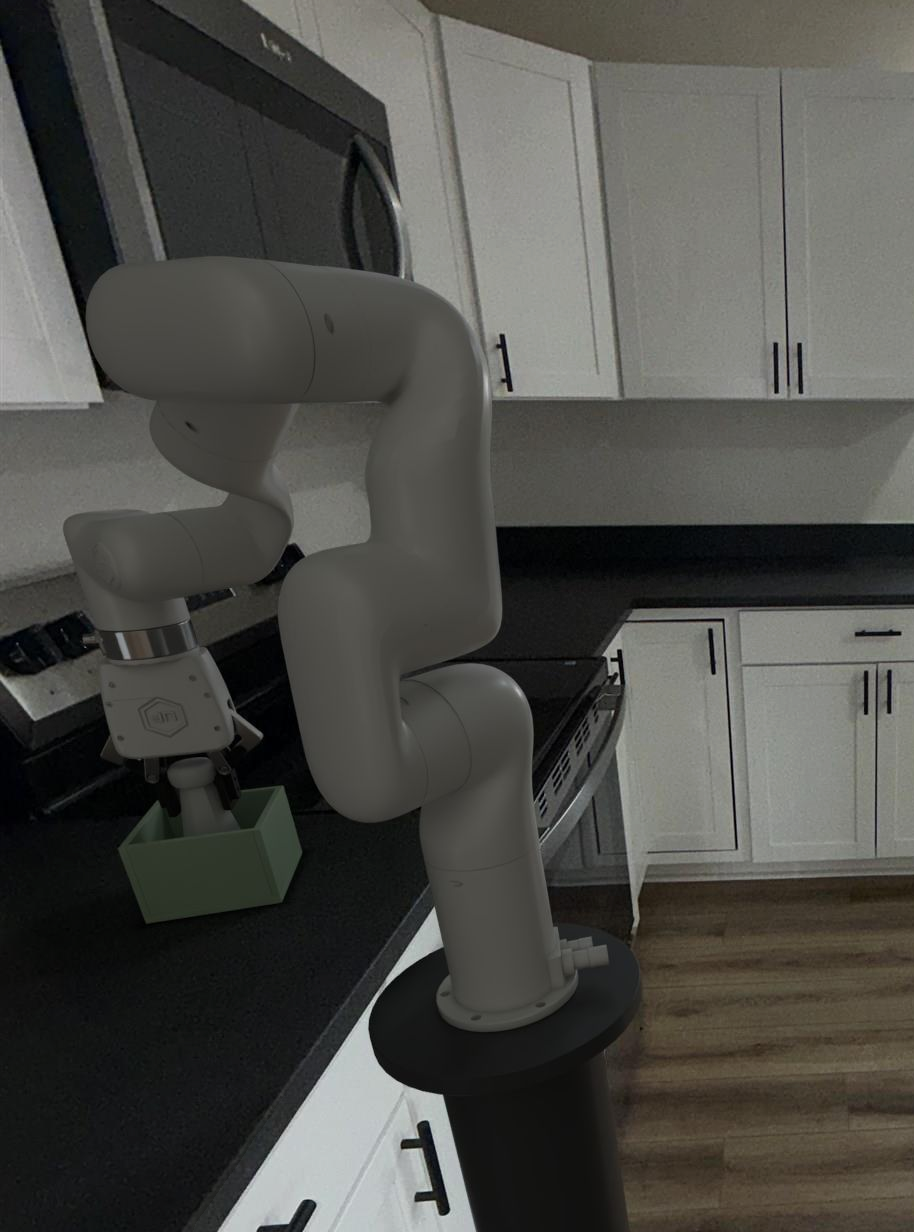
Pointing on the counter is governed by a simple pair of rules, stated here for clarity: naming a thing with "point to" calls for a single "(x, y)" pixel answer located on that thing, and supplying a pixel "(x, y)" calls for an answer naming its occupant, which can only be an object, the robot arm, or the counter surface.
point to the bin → (213, 859)
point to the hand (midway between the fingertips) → (204, 807)
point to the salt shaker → (200, 798)
